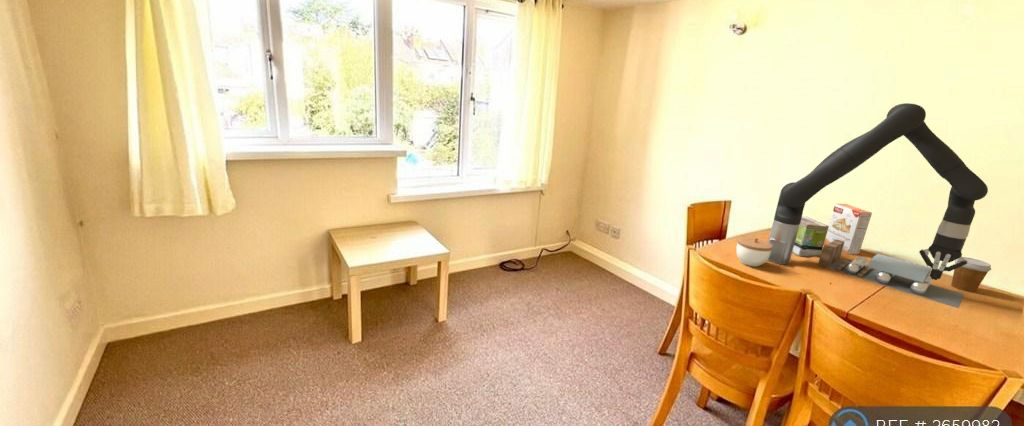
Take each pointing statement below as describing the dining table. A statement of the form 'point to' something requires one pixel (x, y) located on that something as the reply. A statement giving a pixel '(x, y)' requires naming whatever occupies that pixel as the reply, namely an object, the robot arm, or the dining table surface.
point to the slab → (900, 267)
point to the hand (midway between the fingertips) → (934, 279)
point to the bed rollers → (915, 287)
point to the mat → (905, 284)
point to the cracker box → (848, 227)
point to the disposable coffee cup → (970, 274)
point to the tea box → (810, 237)
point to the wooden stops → (836, 257)
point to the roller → (856, 265)
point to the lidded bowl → (753, 251)
